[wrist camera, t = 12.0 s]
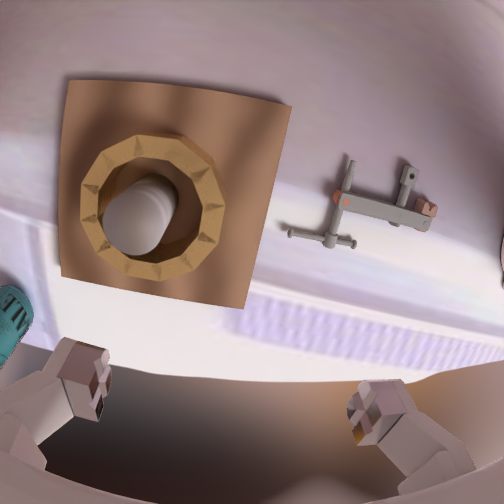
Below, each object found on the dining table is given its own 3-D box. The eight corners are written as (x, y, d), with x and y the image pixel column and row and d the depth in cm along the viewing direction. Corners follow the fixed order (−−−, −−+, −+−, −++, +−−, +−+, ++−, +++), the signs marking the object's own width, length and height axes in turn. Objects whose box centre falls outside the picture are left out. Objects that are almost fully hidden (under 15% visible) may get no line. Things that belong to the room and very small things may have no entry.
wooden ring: (235, 144, 25) (236, 149, 21) (212, 267, 30) (209, 289, 26) (105, 126, 23) (85, 129, 20) (97, 247, 28) (81, 266, 24)
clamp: (447, 181, 27) (416, 266, 31) (436, 176, 29) (407, 257, 33) (315, 136, 25) (288, 243, 29) (309, 134, 27) (284, 234, 31)
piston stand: (288, 106, 25) (313, 104, 17) (243, 301, 33) (247, 356, 25) (76, 80, 22) (26, 75, 15) (67, 269, 30) (31, 313, 23)
